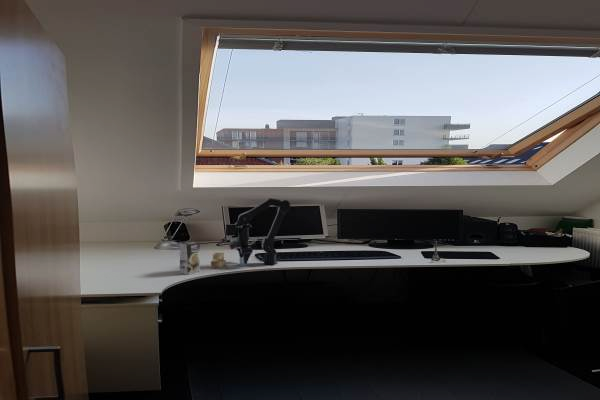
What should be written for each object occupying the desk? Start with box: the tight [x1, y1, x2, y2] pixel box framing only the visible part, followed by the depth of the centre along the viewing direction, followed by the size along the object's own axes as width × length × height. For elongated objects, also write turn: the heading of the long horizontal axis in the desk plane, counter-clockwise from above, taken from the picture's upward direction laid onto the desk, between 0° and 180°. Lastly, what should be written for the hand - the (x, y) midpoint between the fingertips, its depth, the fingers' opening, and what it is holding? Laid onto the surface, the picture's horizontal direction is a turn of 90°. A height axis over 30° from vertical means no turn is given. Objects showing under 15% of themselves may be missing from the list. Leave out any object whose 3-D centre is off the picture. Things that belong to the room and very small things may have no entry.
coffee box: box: [179, 240, 201, 275], centre depth 235 cm, size 9×6×16 cm
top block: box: [212, 252, 225, 262], centre depth 247 cm, size 5×5×4 cm
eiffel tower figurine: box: [428, 241, 448, 264], centre depth 269 cm, size 15×10×13 cm
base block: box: [210, 259, 227, 270], centre depth 247 cm, size 6×6×4 cm
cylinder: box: [239, 257, 248, 267], centre depth 253 cm, size 4×4×4 cm
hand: (243, 262), depth 253 cm, fingers open, 9 cm apart
